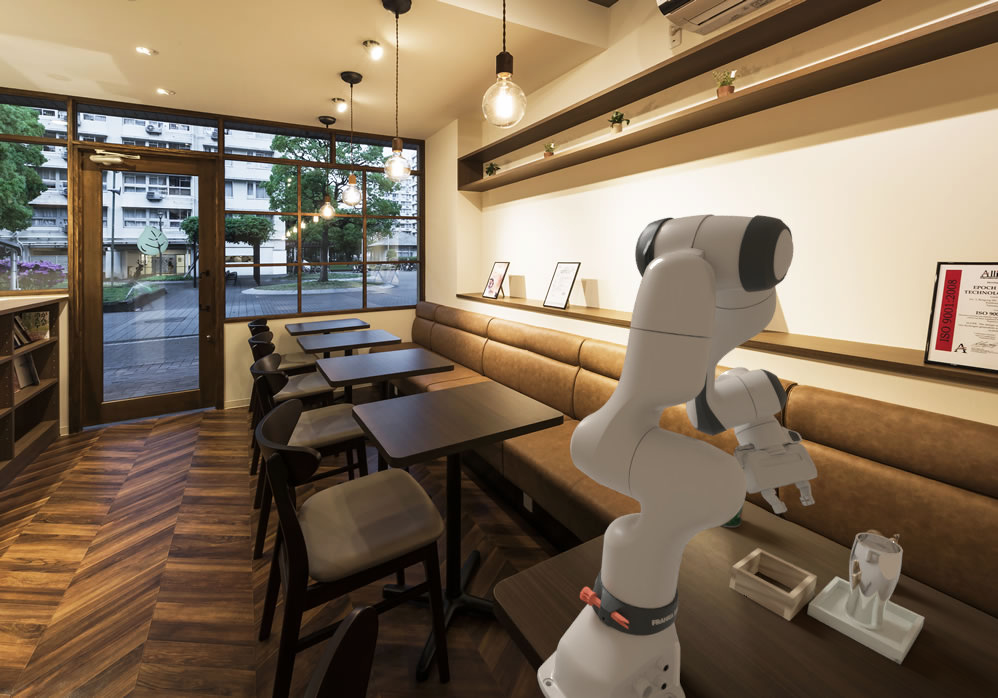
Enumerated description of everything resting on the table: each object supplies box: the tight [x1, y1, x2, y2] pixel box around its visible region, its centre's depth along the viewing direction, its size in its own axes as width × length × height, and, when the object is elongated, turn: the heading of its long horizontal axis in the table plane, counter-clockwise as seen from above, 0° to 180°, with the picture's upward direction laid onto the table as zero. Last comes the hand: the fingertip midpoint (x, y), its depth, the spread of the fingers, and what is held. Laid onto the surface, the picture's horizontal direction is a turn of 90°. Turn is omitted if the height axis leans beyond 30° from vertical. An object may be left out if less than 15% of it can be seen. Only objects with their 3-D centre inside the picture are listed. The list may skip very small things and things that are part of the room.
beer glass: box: [843, 532, 904, 630], centre depth 85 cm, size 7×7×15 cm
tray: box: [806, 576, 925, 665], centre depth 86 cm, size 14×14×2 cm
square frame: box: [729, 547, 818, 622], centre depth 93 cm, size 11×11×4 cm
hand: (796, 508), depth 94 cm, fingers open, 8 cm apart
